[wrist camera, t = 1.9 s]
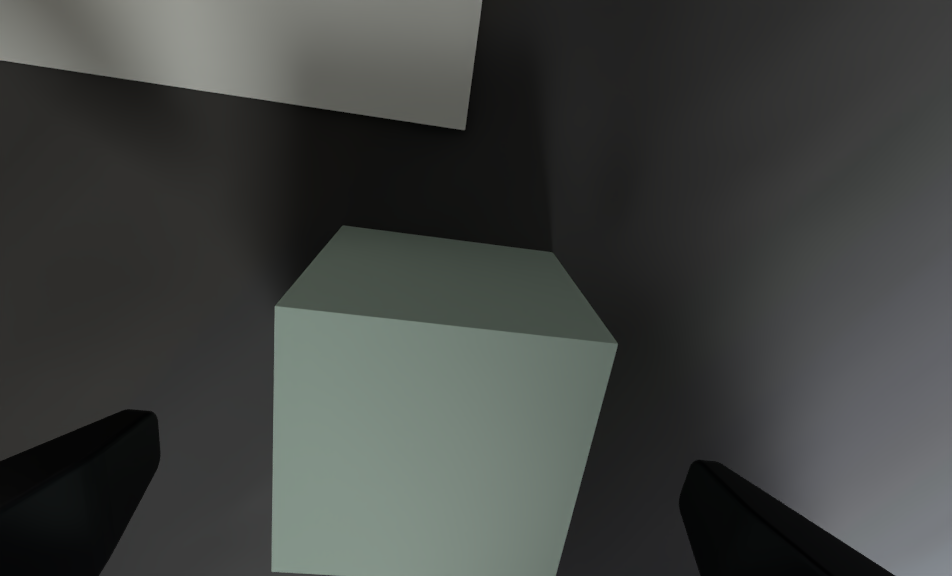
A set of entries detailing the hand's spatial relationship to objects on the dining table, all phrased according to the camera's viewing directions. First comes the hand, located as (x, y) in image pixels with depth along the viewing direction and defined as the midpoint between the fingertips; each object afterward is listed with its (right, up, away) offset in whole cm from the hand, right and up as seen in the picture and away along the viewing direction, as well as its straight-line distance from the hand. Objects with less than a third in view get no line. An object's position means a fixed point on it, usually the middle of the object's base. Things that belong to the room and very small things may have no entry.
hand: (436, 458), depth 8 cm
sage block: (0, +2, +4) cm, 5 cm away
